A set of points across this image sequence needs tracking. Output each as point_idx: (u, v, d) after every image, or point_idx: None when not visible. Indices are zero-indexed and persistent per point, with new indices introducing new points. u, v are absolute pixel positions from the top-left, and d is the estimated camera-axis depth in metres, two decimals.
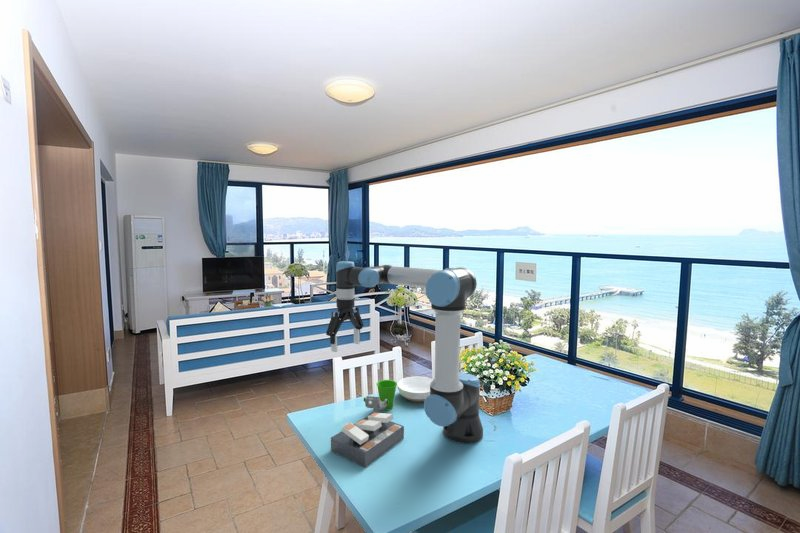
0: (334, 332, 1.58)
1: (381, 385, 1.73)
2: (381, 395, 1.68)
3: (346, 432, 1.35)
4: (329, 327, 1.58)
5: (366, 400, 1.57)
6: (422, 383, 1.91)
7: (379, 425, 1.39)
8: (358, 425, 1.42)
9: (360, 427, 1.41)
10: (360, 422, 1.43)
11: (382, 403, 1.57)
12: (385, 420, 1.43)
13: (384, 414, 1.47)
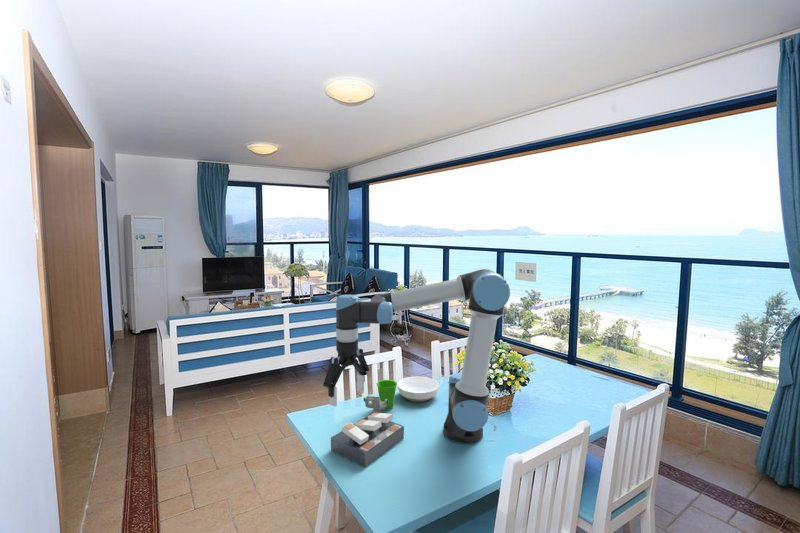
0: (333, 383, 1.30)
1: (381, 385, 1.73)
2: (381, 395, 1.68)
3: (346, 432, 1.35)
4: (327, 377, 1.29)
5: (366, 400, 1.57)
6: (422, 383, 1.91)
7: (379, 425, 1.39)
8: (358, 425, 1.42)
9: (360, 427, 1.41)
10: (360, 422, 1.43)
11: (382, 403, 1.57)
12: (385, 420, 1.43)
13: (384, 414, 1.47)
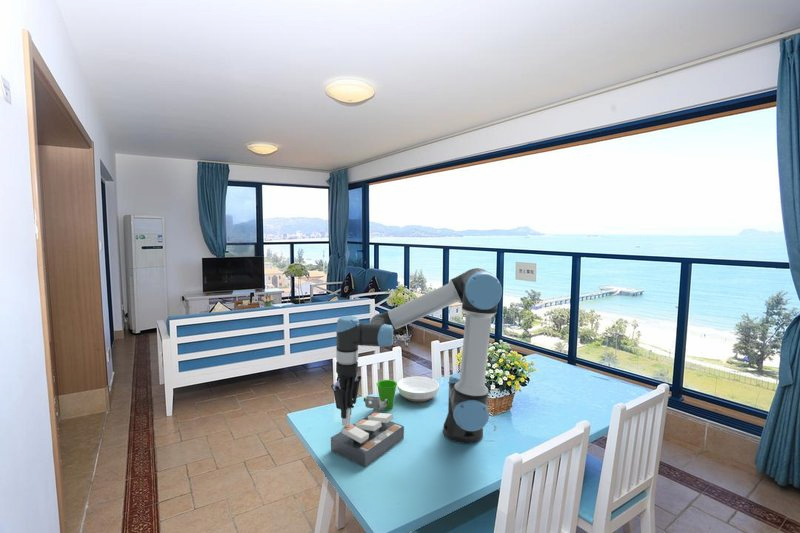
0: (344, 406, 1.35)
1: (381, 385, 1.73)
2: (381, 395, 1.68)
3: (346, 433, 1.35)
4: (336, 401, 1.34)
5: (366, 400, 1.57)
6: (422, 383, 1.91)
7: (379, 425, 1.39)
8: (358, 425, 1.42)
9: (360, 427, 1.41)
10: (360, 422, 1.43)
11: (382, 403, 1.57)
12: (385, 420, 1.43)
13: (384, 414, 1.47)
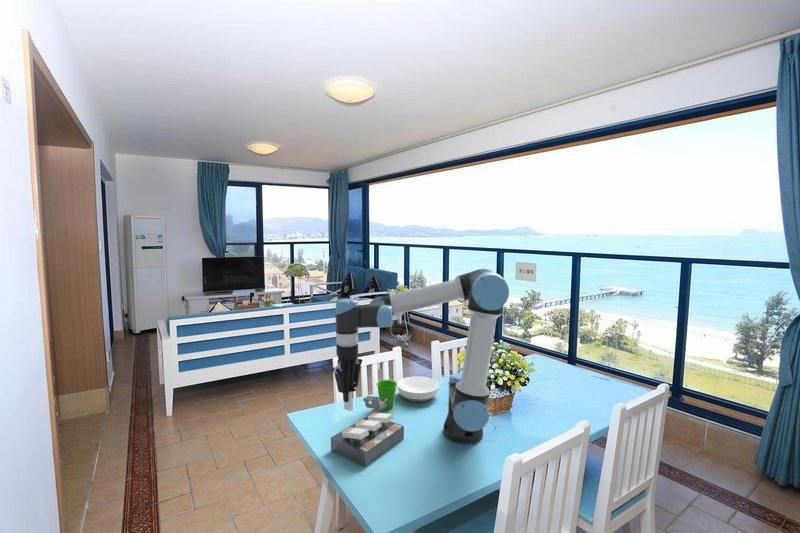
0: (346, 389, 1.34)
1: (381, 385, 1.73)
2: (381, 395, 1.68)
3: (346, 435, 1.35)
4: (338, 385, 1.33)
5: (366, 400, 1.57)
6: (422, 383, 1.91)
7: (379, 425, 1.39)
8: (358, 425, 1.42)
9: (360, 427, 1.41)
10: (360, 422, 1.43)
11: (382, 403, 1.57)
12: (385, 420, 1.43)
13: (384, 414, 1.47)
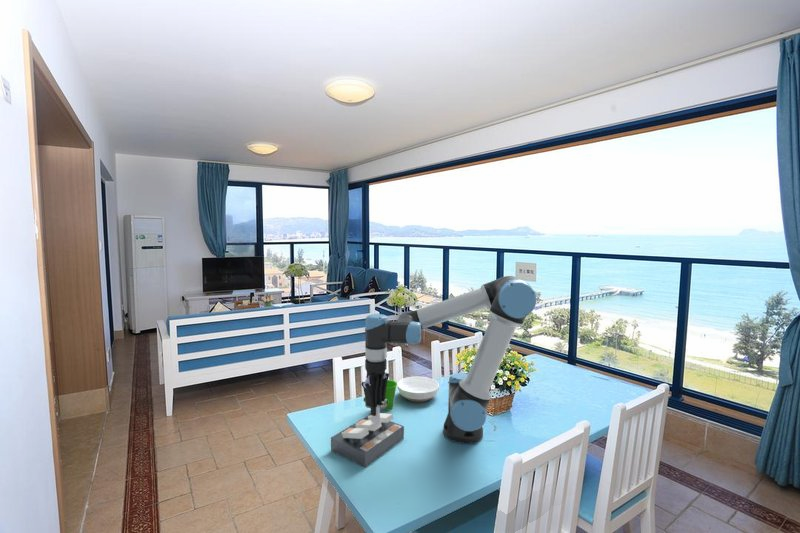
0: (374, 403, 1.36)
1: None
2: None
3: (346, 435, 1.35)
4: (366, 399, 1.35)
5: None
6: (422, 383, 1.91)
7: (379, 425, 1.39)
8: (358, 425, 1.42)
9: (360, 427, 1.41)
10: (360, 422, 1.43)
11: None
12: (385, 420, 1.43)
13: (384, 414, 1.47)
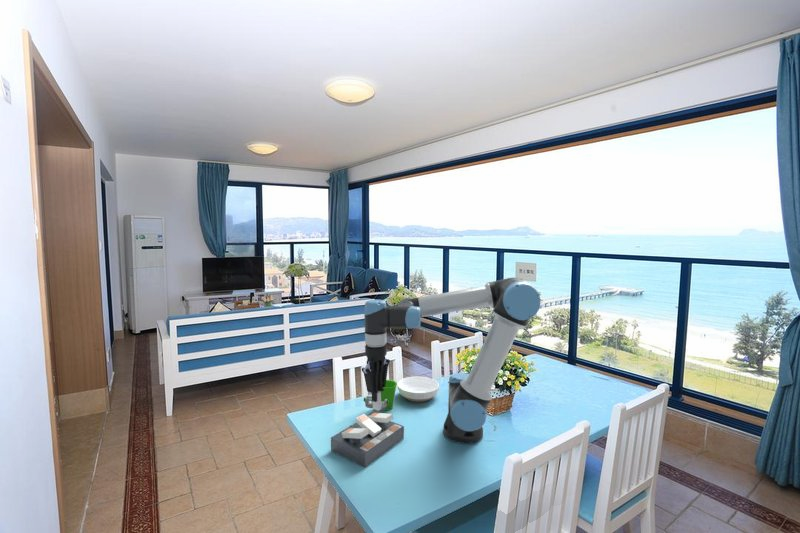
0: (375, 389, 1.36)
1: None
2: (381, 395, 1.68)
3: (346, 435, 1.35)
4: (367, 385, 1.34)
5: (366, 400, 1.57)
6: (422, 383, 1.91)
7: (378, 432, 1.40)
8: (359, 421, 1.41)
9: (360, 424, 1.41)
10: (361, 418, 1.42)
11: (382, 403, 1.57)
12: (385, 420, 1.43)
13: (384, 414, 1.47)
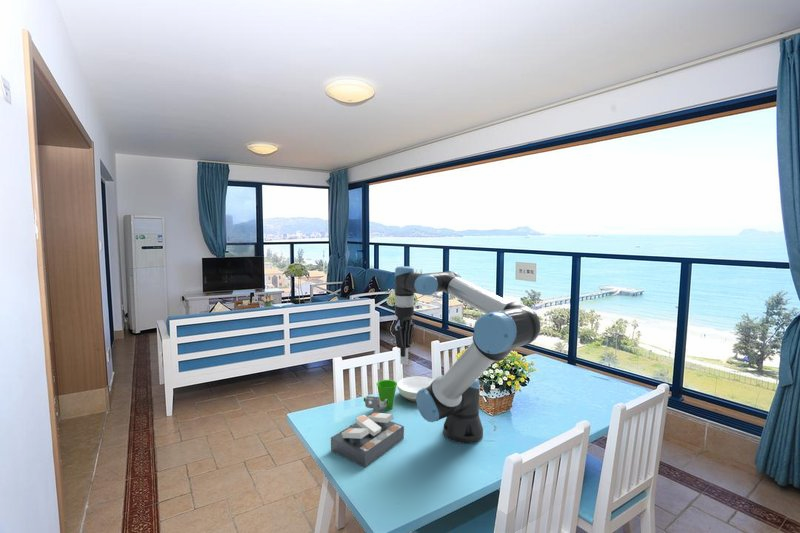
0: (404, 345, 1.53)
1: (381, 385, 1.73)
2: (381, 395, 1.68)
3: (346, 435, 1.35)
4: (397, 341, 1.52)
5: (366, 400, 1.57)
6: (422, 383, 1.91)
7: (379, 431, 1.40)
8: (358, 421, 1.41)
9: (360, 424, 1.41)
10: (361, 419, 1.42)
11: (382, 403, 1.57)
12: (385, 420, 1.43)
13: (384, 414, 1.47)
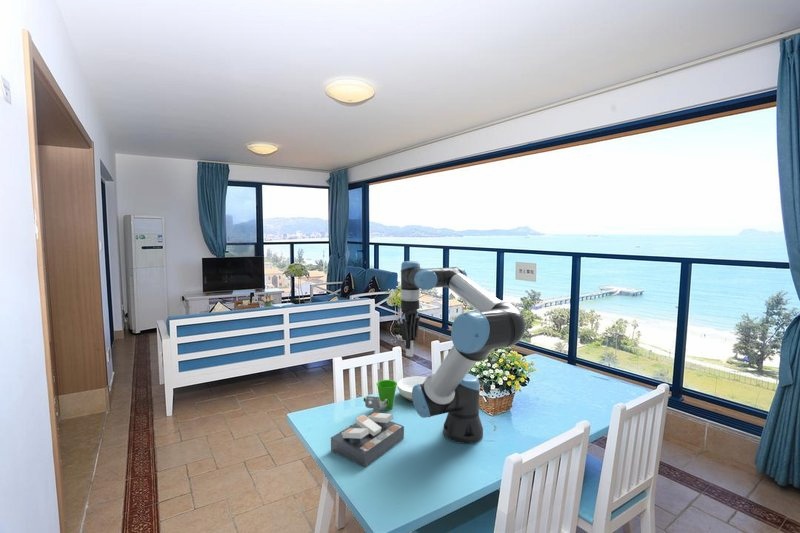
0: (409, 338, 1.57)
1: (381, 385, 1.73)
2: (381, 395, 1.68)
3: (346, 435, 1.35)
4: (402, 333, 1.56)
5: (366, 400, 1.57)
6: (422, 383, 1.91)
7: (379, 431, 1.40)
8: (358, 421, 1.41)
9: (360, 424, 1.41)
10: (361, 419, 1.42)
11: (382, 403, 1.57)
12: (385, 420, 1.43)
13: (384, 414, 1.47)
